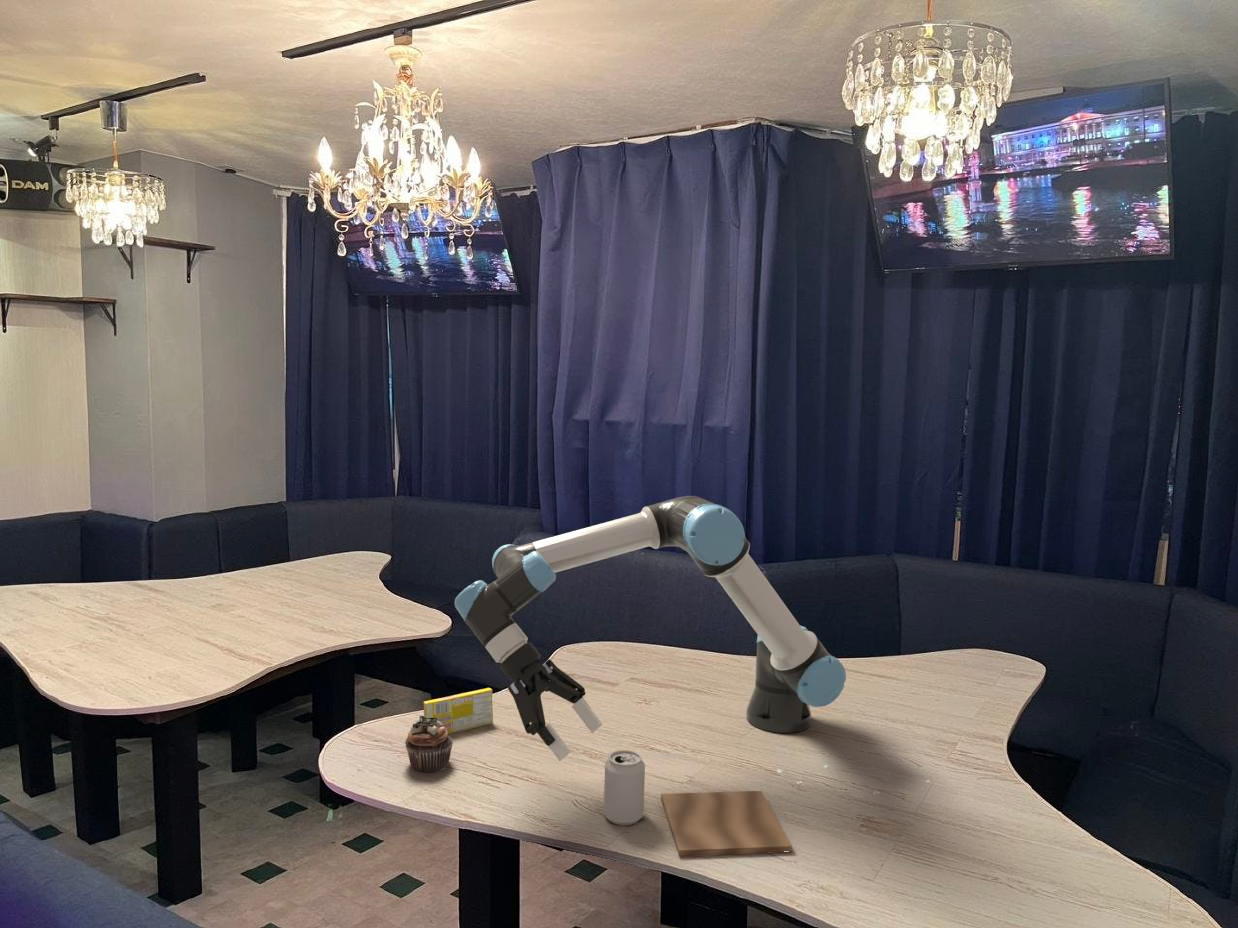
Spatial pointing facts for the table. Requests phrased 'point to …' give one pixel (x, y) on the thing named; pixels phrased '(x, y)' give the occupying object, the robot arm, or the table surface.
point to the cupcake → (428, 745)
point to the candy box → (462, 710)
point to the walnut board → (723, 823)
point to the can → (624, 787)
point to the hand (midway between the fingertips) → (582, 742)
